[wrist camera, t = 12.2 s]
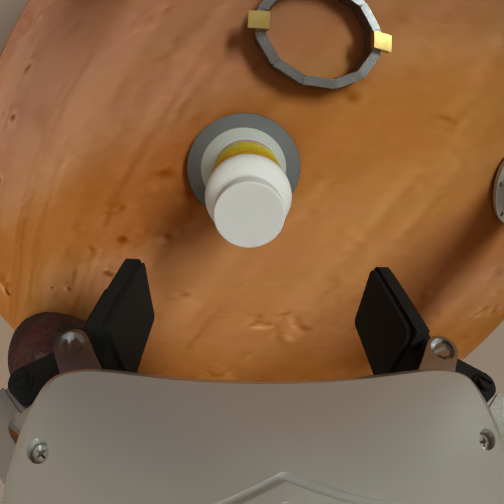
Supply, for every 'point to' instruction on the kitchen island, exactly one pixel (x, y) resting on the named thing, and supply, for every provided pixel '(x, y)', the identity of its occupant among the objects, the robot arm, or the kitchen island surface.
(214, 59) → the kitchen island surface
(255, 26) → the collar
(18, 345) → the jug
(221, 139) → the coaster
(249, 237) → the supplement bottle
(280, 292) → the kitchen island surface
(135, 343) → the robot arm
